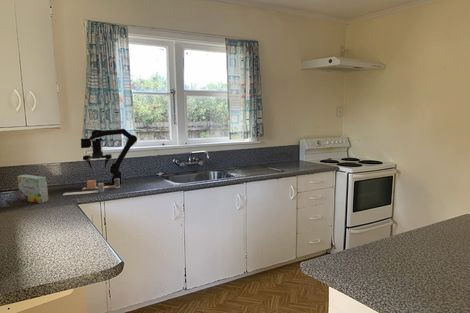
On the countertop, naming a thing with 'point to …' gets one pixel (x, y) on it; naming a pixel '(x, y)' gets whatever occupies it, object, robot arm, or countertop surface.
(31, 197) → the snack box
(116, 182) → the beige rectangular bar
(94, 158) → the robot arm
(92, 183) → the terracotta block
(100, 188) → the white long bar
